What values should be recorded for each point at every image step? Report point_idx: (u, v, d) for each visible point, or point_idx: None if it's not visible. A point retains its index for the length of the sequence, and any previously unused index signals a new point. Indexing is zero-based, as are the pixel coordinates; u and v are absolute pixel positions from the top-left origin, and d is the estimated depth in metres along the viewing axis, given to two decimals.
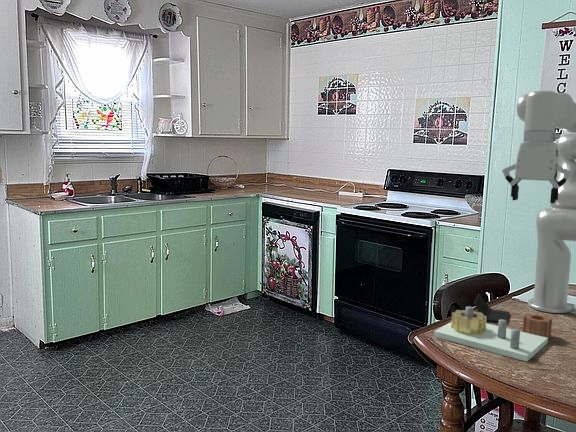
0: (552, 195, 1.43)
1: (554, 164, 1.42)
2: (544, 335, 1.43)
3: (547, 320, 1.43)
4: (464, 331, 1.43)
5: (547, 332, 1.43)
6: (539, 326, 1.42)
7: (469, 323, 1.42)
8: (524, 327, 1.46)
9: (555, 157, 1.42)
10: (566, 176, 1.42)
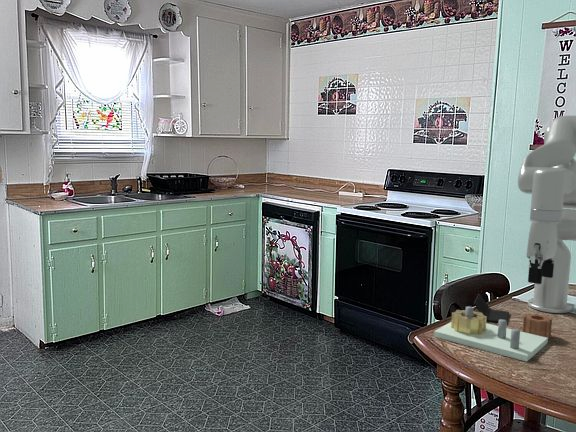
0: (553, 270, 1.46)
1: None
2: (544, 335, 1.43)
3: (547, 320, 1.43)
4: (464, 331, 1.43)
5: (547, 332, 1.43)
6: (539, 326, 1.42)
7: (469, 323, 1.42)
8: (524, 327, 1.46)
9: None
10: None
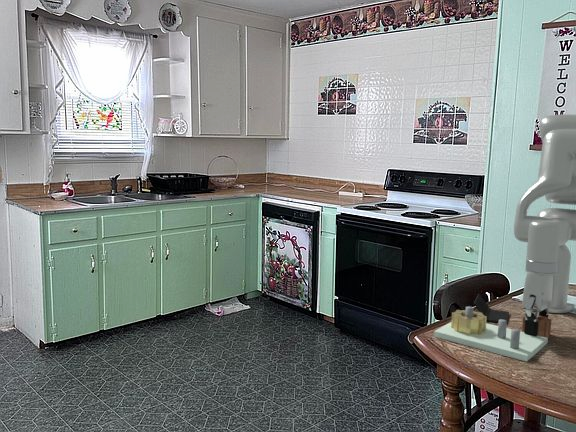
0: None
1: None
2: (543, 335, 1.43)
3: (546, 320, 1.43)
4: (464, 331, 1.43)
5: (547, 332, 1.42)
6: (538, 326, 1.42)
7: (469, 323, 1.42)
8: (523, 327, 1.46)
9: None
10: None
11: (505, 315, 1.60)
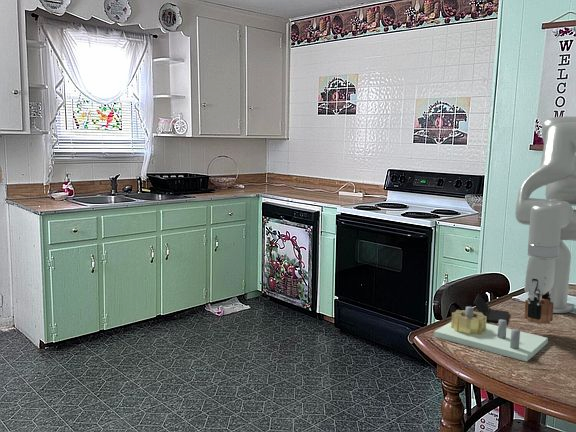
0: None
1: None
2: (546, 319, 1.44)
3: (549, 304, 1.44)
4: (464, 331, 1.43)
5: (549, 316, 1.43)
6: (541, 310, 1.43)
7: (469, 323, 1.42)
8: (526, 311, 1.47)
9: None
10: None
11: (505, 315, 1.60)
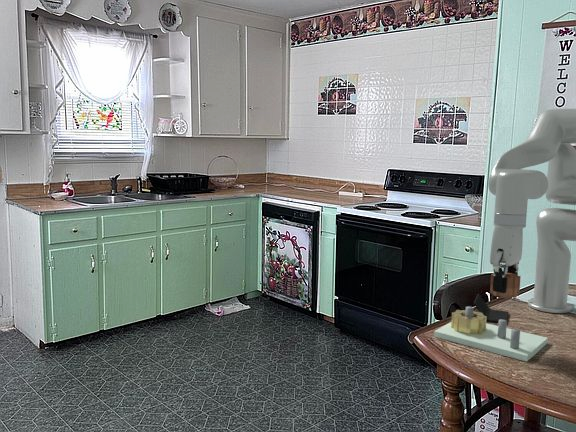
0: None
1: None
2: (512, 293, 1.36)
3: (515, 277, 1.36)
4: (464, 331, 1.43)
5: (515, 289, 1.35)
6: None
7: (469, 323, 1.42)
8: (492, 285, 1.39)
9: None
10: None
11: (505, 315, 1.60)
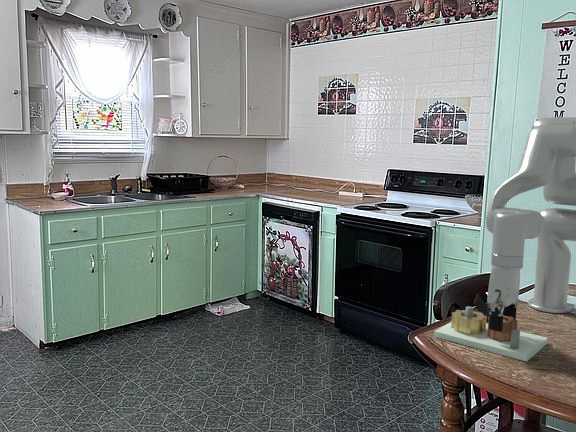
0: (515, 314, 1.42)
1: None
2: (509, 337, 1.37)
3: (512, 321, 1.37)
4: (464, 331, 1.43)
5: None
6: (503, 328, 1.37)
7: (469, 323, 1.42)
8: (489, 329, 1.41)
9: None
10: None
11: None
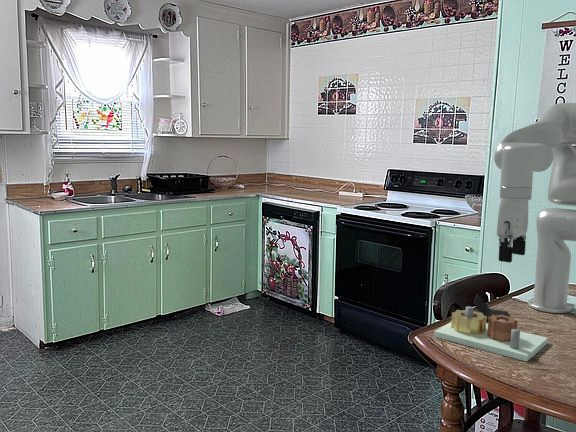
0: (524, 247, 1.44)
1: None
2: (509, 337, 1.37)
3: (512, 321, 1.37)
4: (464, 331, 1.43)
5: None
6: (503, 328, 1.37)
7: (469, 323, 1.42)
8: (489, 329, 1.41)
9: None
10: None
11: (504, 315, 1.60)
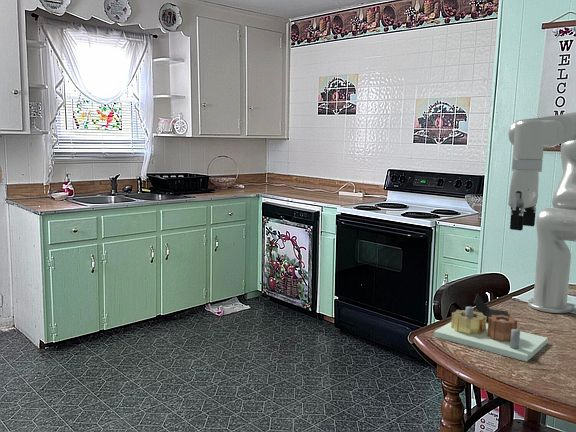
0: (534, 219, 1.52)
1: None
2: (509, 337, 1.37)
3: (512, 321, 1.37)
4: (464, 331, 1.43)
5: None
6: (503, 328, 1.37)
7: (469, 323, 1.42)
8: (489, 329, 1.41)
9: None
10: None
11: (504, 315, 1.60)
